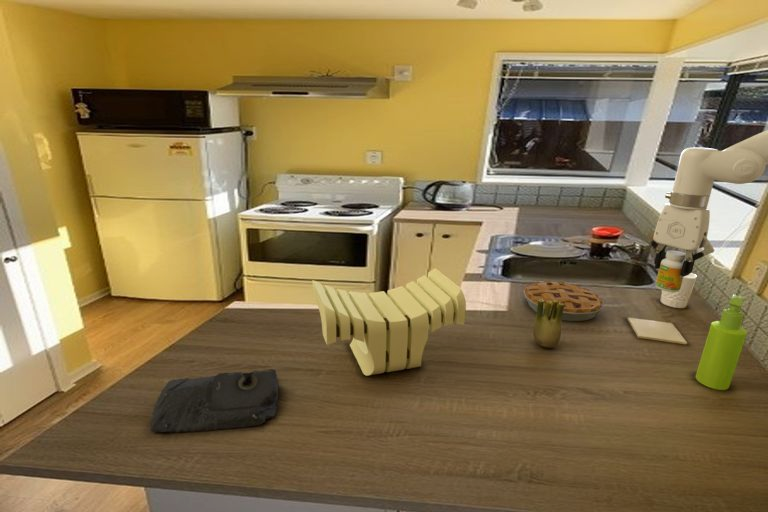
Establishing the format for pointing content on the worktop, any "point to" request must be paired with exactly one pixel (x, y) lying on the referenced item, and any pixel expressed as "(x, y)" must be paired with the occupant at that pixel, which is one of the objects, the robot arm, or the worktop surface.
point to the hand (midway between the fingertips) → (671, 270)
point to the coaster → (656, 330)
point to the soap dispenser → (723, 347)
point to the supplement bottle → (670, 272)
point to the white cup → (680, 293)
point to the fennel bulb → (548, 324)
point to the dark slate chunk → (216, 402)
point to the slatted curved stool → (390, 320)
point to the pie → (564, 299)
